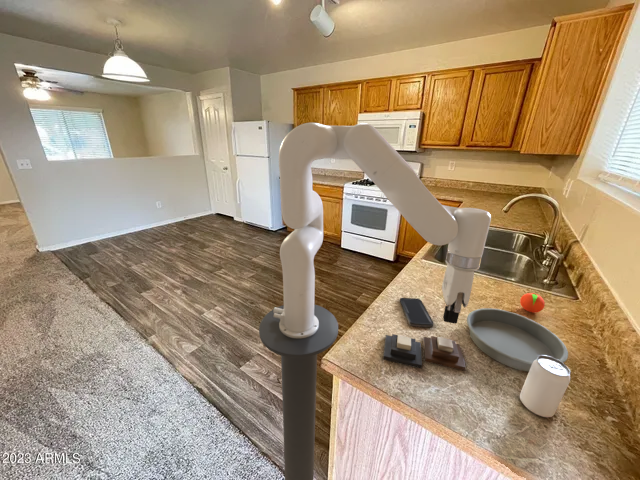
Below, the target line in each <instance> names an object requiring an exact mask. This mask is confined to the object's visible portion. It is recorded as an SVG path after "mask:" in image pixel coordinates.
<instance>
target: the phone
mask: <svg viewBox="0 0 640 480" xmlns="http://www.w3.org/2000/svg"><path fill="white" fill-rule="evenodd" d="M399 303H400V306H401V308H402V311H403V313H404V315H405V318H406V321H407V323H408V325H410V326H412V327H424V328H426V327H427V328H432V327H433V326H434V321H433V319H432V317H431V315H430V314H429V312H428V310H427V308H426V307H425V305H424V302H423V301H422V299H420V298H416V297H415V298H414V297H400V298H399Z"/></svg>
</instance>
